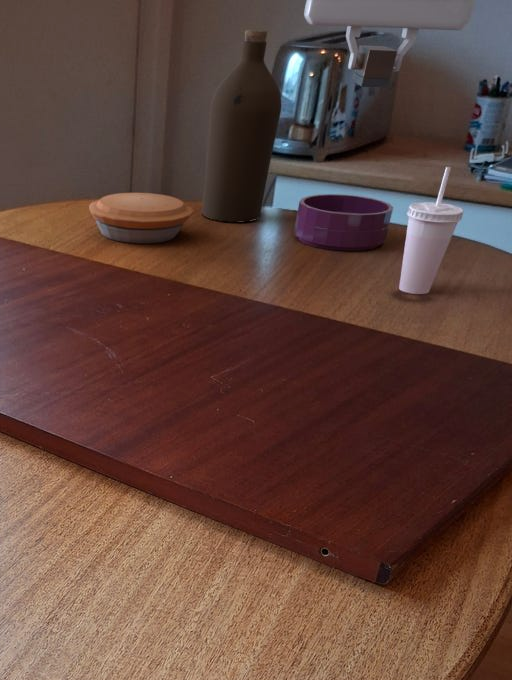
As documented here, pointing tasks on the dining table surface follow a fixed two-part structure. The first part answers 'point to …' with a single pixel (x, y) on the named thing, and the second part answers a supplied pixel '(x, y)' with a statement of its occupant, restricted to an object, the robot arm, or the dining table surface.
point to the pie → (140, 217)
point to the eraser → (375, 66)
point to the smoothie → (427, 241)
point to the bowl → (342, 222)
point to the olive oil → (241, 136)
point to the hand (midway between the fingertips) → (373, 70)
